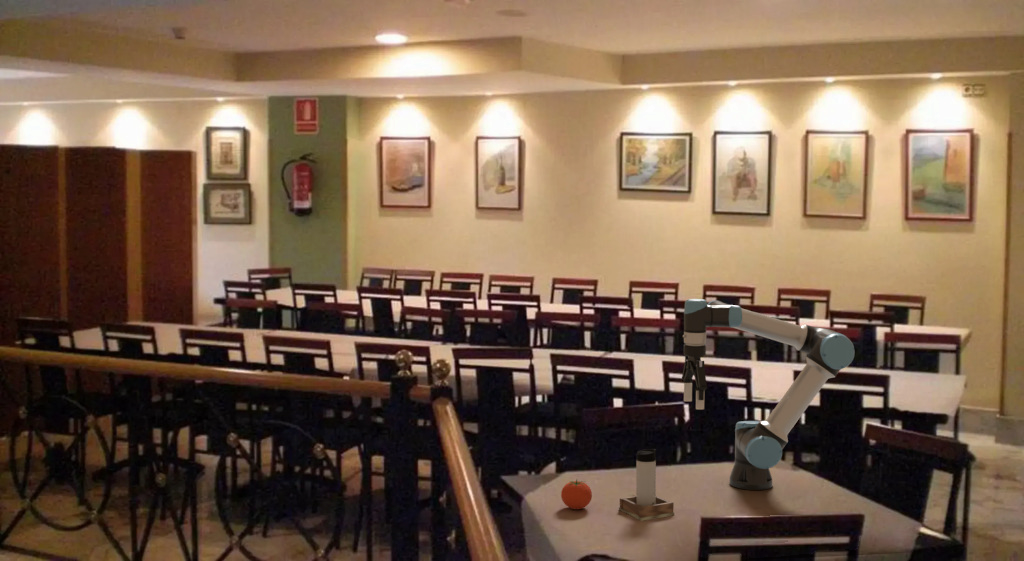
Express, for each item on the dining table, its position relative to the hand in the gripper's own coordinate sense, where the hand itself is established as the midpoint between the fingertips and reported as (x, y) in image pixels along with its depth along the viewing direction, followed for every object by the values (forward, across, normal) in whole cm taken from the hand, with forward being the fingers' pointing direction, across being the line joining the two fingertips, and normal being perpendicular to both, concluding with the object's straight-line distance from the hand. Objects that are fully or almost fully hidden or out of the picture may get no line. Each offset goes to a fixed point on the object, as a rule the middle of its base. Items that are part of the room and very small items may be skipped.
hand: (693, 405), depth 360 cm
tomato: (+32, +10, -43) cm, 54 cm away
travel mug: (+31, +17, -21) cm, 41 cm away
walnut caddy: (+32, +17, -21) cm, 42 cm away
